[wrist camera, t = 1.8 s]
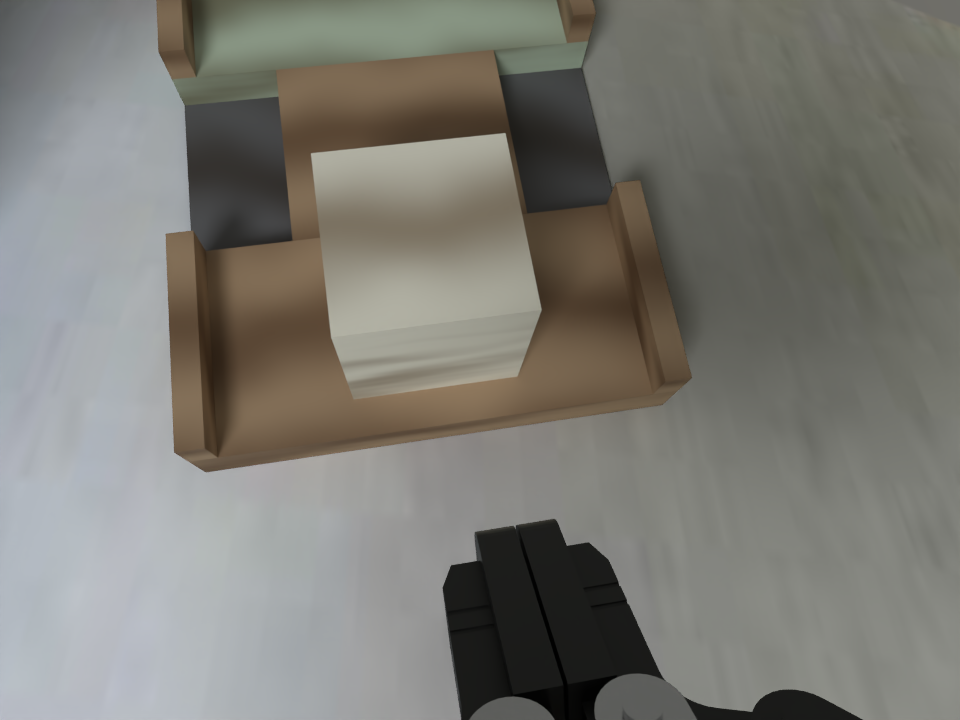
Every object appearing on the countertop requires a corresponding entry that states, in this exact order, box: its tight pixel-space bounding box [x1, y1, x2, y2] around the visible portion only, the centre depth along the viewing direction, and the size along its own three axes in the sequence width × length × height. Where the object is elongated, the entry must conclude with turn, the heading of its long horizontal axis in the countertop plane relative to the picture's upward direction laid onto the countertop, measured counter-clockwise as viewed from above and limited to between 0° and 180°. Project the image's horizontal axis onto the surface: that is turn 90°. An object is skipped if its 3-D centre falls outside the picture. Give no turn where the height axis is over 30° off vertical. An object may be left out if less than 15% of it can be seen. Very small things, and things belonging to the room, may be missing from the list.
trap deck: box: [157, 0, 692, 472], centre depth 38 cm, size 31×22×6 cm
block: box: [311, 133, 542, 399], centre depth 31 cm, size 8×8×8 cm
